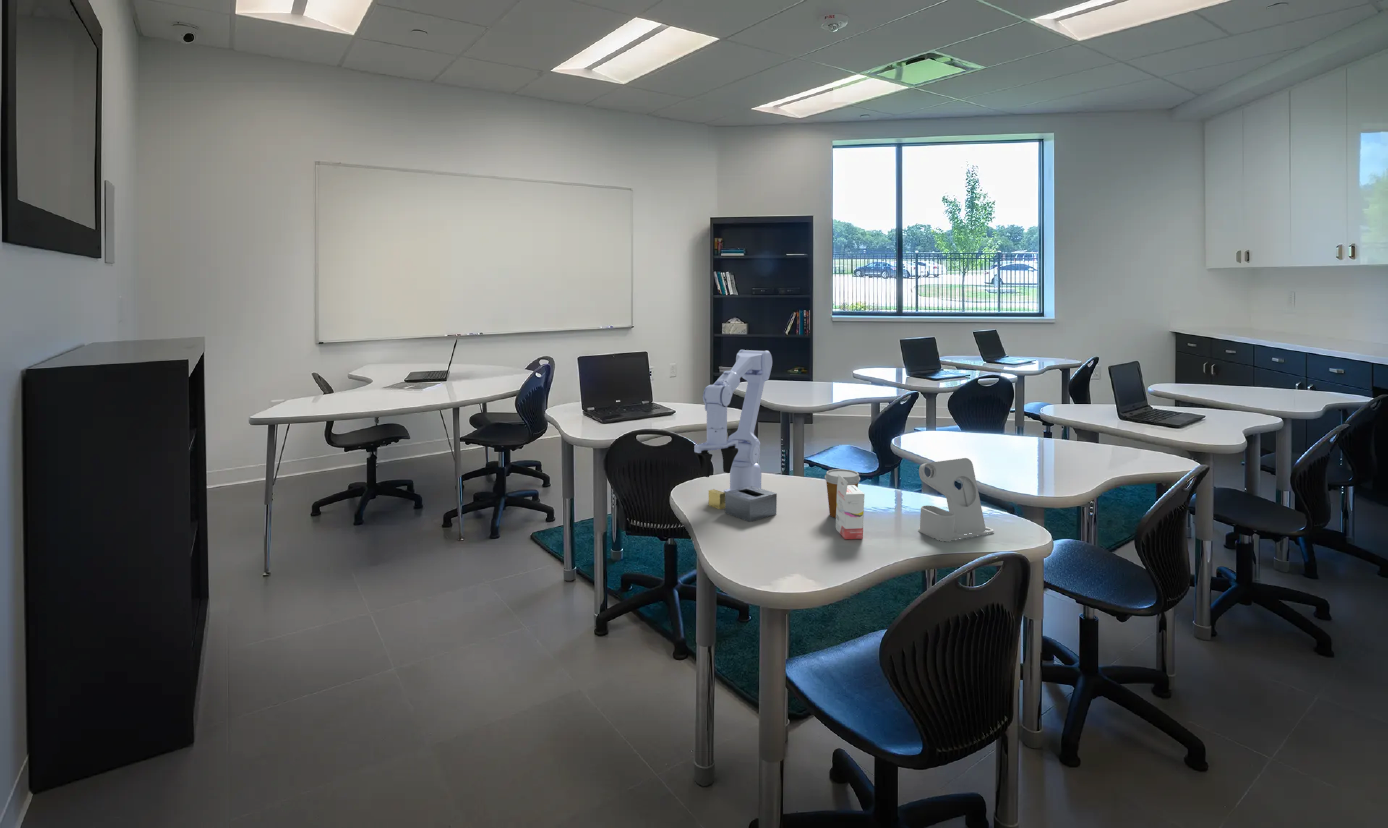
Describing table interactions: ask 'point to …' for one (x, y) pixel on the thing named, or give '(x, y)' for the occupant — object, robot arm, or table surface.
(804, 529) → the table surface
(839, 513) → the ink cartridge box
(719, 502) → the block
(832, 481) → the disposable coffee cup
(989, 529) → the grey mounting bracket
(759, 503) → the box
